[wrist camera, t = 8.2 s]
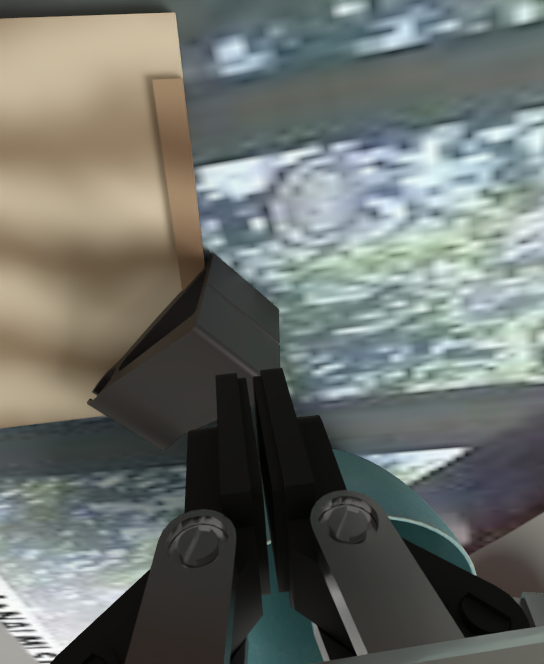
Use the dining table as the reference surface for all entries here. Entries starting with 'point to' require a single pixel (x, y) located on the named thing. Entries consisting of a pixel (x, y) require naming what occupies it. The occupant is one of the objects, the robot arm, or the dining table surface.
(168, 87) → the board
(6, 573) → the dining table surface
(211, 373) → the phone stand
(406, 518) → the plant pot
